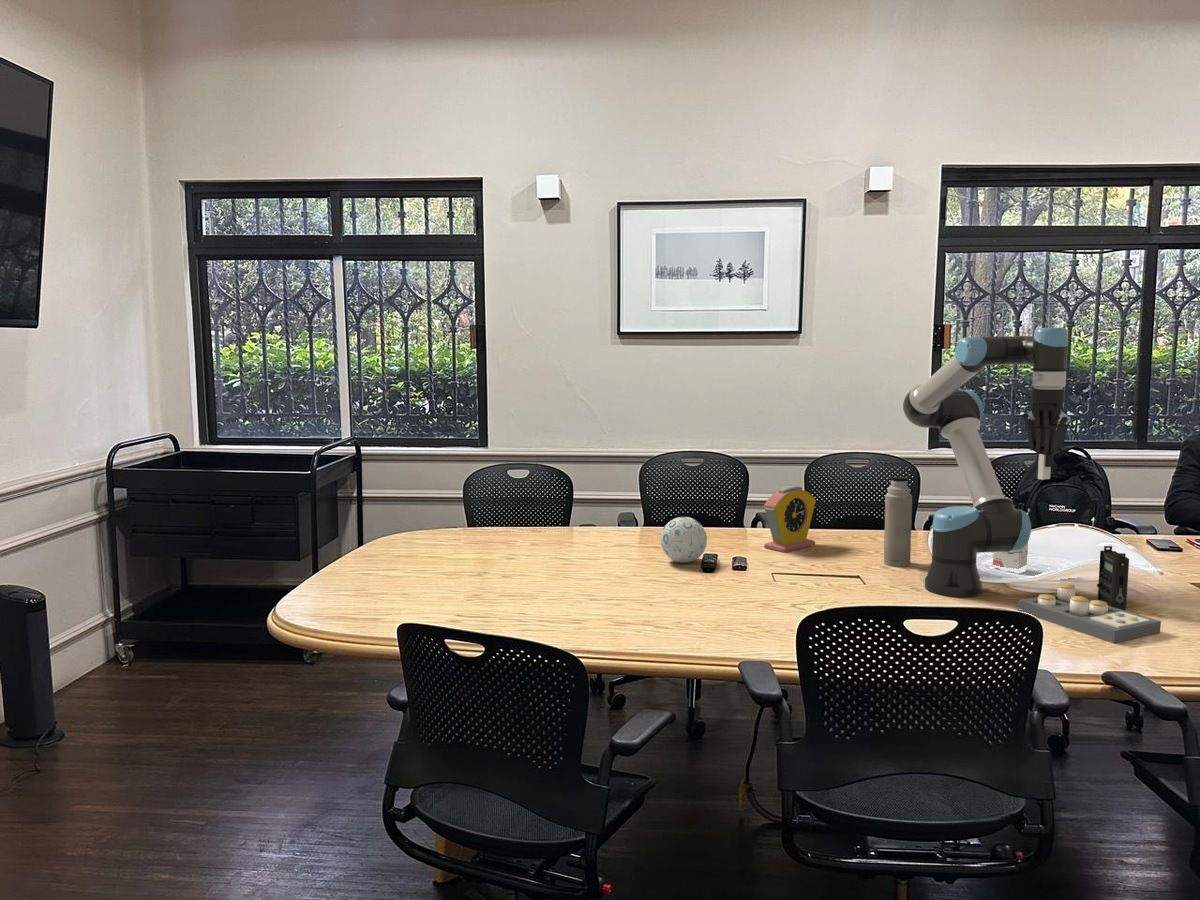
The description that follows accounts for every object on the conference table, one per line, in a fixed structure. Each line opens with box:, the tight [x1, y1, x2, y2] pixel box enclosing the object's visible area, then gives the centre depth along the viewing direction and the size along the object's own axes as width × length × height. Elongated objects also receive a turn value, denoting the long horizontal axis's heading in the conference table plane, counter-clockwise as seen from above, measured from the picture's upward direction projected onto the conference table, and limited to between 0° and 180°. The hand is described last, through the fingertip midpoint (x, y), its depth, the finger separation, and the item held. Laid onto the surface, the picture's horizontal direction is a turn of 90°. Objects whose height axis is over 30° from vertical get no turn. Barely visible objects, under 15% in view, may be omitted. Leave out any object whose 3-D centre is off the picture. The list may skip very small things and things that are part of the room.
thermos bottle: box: [883, 476, 913, 568], centre depth 261 cm, size 8×8×28 cm
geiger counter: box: [1096, 545, 1130, 611], centre depth 217 cm, size 10×4×15 cm, turn 170°
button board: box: [1018, 593, 1162, 644], centre depth 204 cm, size 26×16×4 cm, turn 22°
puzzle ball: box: [660, 516, 708, 564], centre depth 268 cm, size 15×15×15 cm
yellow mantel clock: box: [763, 485, 817, 553], centre depth 286 cm, size 22×9×22 cm, turn 127°
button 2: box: [1056, 582, 1076, 603], centre depth 213 cm, size 4×4×4 cm
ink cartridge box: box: [992, 541, 1029, 569], centre depth 252 cm, size 9×5×15 cm, turn 32°
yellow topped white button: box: [1089, 599, 1108, 613], centre depth 205 cm, size 4×4×4 cm
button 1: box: [1037, 593, 1056, 607], centre depth 210 cm, size 4×4×4 cm
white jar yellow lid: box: [1069, 595, 1089, 617], centre depth 202 cm, size 4×4×4 cm
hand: (1043, 478), depth 213 cm, fingers closed
